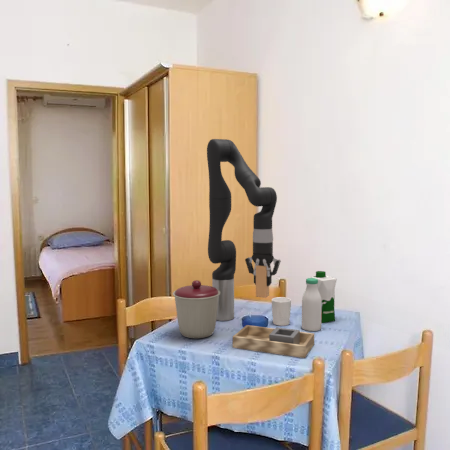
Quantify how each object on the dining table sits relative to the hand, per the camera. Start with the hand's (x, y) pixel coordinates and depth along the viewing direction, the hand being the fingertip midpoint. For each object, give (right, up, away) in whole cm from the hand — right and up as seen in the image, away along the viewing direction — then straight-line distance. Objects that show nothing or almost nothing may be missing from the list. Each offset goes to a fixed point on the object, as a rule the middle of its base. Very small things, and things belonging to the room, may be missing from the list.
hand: (262, 285), depth 181 cm
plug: (0, -4, 0) cm, 4 cm away
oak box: (+3, -20, -11) cm, 23 cm away
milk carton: (+27, -17, +19) cm, 37 cm away
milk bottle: (+20, -18, +8) cm, 28 cm away
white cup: (+9, -18, +15) cm, 25 cm away
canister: (-25, -19, +2) cm, 32 cm away
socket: (+7, -20, -13) cm, 25 cm away
